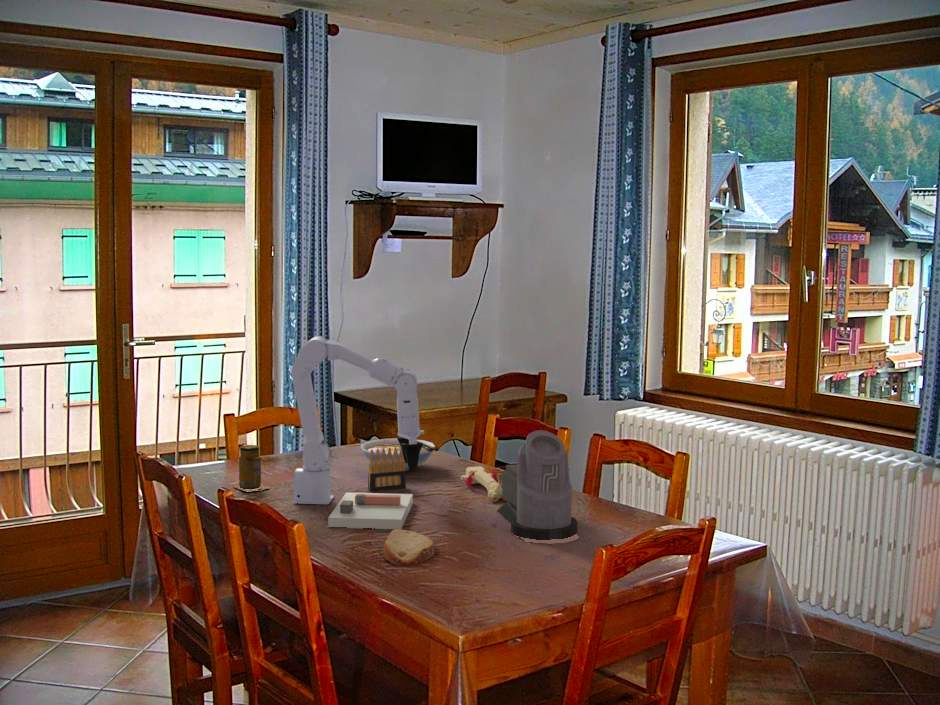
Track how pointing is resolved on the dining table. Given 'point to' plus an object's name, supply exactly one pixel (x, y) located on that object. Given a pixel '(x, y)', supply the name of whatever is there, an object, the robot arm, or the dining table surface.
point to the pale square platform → (370, 513)
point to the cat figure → (485, 481)
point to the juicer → (539, 490)
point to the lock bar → (378, 499)
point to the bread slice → (407, 548)
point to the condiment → (249, 467)
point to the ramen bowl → (393, 443)
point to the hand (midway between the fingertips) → (410, 465)
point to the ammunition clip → (386, 471)
